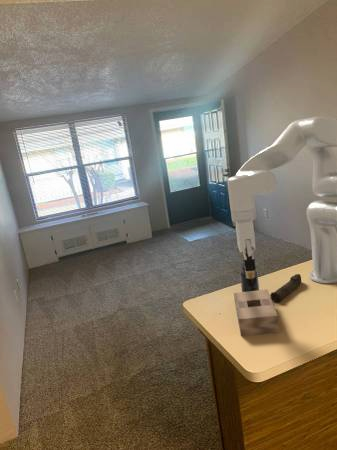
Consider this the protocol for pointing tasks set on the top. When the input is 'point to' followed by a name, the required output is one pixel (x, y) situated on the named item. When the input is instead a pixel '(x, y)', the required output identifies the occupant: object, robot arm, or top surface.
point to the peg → (249, 272)
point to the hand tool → (286, 288)
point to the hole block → (256, 313)
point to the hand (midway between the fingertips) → (249, 267)
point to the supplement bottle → (248, 281)
